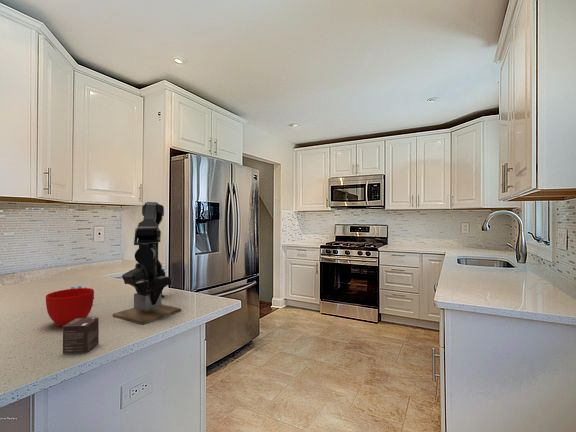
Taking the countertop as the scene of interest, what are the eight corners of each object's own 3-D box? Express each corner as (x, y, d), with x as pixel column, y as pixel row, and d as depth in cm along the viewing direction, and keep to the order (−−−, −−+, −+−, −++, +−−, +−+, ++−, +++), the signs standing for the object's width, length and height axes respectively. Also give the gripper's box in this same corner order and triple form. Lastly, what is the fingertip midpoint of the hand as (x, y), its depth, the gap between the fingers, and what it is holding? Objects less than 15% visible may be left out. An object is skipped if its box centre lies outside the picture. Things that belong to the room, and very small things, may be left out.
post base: (152, 304, 121) (152, 290, 121) (181, 311, 113) (181, 296, 113) (112, 316, 107) (112, 300, 107) (141, 324, 99) (141, 307, 99)
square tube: (149, 303, 114) (149, 289, 114) (161, 305, 111) (161, 292, 111) (133, 307, 108) (133, 293, 108) (145, 310, 105) (145, 296, 105)
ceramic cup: (104, 311, 112) (104, 284, 112) (84, 328, 95) (84, 296, 95) (64, 314, 109) (64, 286, 109) (36, 332, 93) (36, 299, 93)
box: (76, 344, 84) (76, 317, 84) (99, 343, 85) (99, 317, 85) (62, 354, 78) (61, 325, 78) (86, 353, 79) (86, 325, 78)
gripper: (110, 261, 107) (110, 305, 107) (143, 265, 98) (144, 314, 98) (139, 257, 117) (139, 297, 117) (172, 260, 108) (172, 305, 108)
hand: (147, 303), depth 110 cm, fingers closed on square tube, 6 cm apart
